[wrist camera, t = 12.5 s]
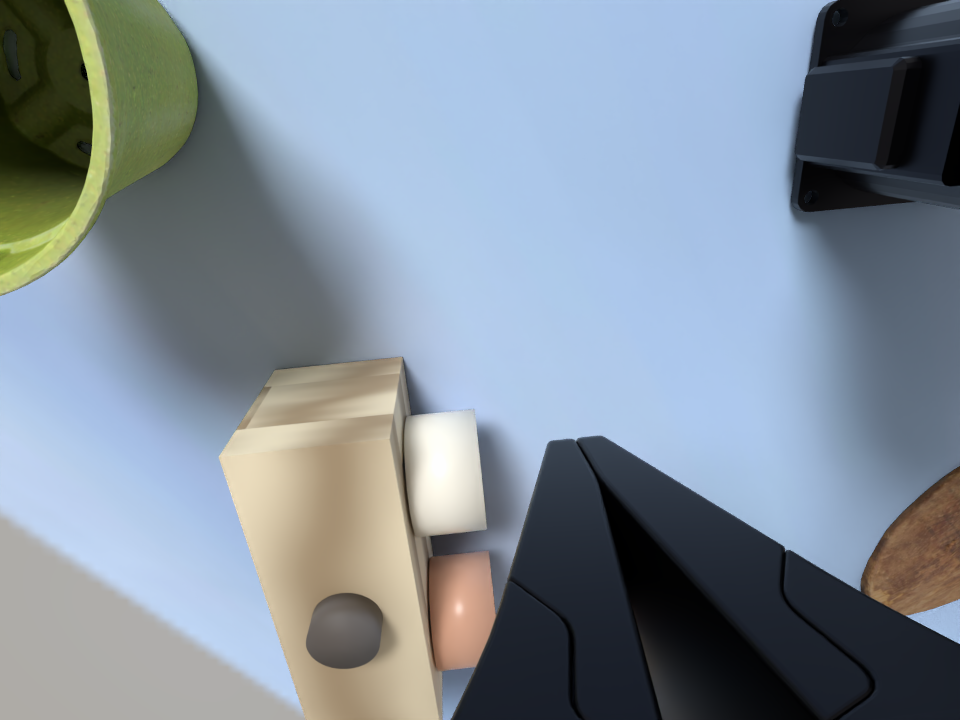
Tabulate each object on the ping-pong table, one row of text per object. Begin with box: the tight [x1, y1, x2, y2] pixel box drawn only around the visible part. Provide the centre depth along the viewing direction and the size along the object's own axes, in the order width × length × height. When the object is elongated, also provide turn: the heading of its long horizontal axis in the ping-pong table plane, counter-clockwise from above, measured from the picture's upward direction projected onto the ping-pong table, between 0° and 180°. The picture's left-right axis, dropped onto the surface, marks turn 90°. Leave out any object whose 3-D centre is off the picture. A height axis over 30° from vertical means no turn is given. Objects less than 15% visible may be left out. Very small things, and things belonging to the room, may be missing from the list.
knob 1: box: [402, 409, 487, 537], centre depth 20 cm, size 7×4×4 cm, turn 95°
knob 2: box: [428, 550, 496, 671], centre depth 23 cm, size 7×4×4 cm, turn 95°
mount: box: [219, 357, 442, 720], centre depth 21 cm, size 5×14×7 cm, turn 5°
